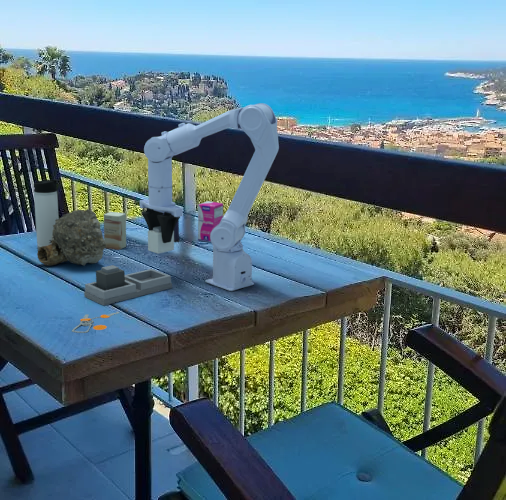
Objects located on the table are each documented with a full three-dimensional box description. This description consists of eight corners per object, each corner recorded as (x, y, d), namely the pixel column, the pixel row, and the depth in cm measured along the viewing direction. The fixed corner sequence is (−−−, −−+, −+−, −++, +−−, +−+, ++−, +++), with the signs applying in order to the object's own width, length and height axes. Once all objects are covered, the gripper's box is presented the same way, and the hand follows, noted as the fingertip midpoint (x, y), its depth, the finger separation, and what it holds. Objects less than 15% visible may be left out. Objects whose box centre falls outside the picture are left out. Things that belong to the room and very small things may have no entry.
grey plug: (174, 250, 169) (173, 227, 167) (158, 253, 165) (157, 230, 164) (164, 246, 171) (163, 224, 170) (148, 250, 168) (147, 227, 166)
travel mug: (57, 251, 190) (53, 181, 185) (34, 251, 190) (29, 180, 185) (64, 246, 196) (60, 177, 191) (41, 245, 196) (37, 177, 191)
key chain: (101, 336, 133) (101, 332, 133) (66, 333, 134) (65, 329, 134) (122, 313, 145) (122, 310, 145) (89, 311, 146) (89, 307, 146)
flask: (161, 235, 211) (161, 202, 208) (170, 234, 212) (170, 201, 209) (172, 242, 203) (172, 207, 200) (181, 241, 204) (181, 207, 202)
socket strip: (172, 287, 162) (172, 275, 161) (103, 305, 149) (103, 292, 148) (152, 280, 167) (151, 268, 166) (84, 296, 154) (83, 284, 153)
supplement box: (197, 240, 206) (197, 203, 203) (207, 236, 211) (207, 200, 208) (213, 243, 203) (213, 206, 200) (223, 239, 208) (223, 202, 205)
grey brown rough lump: (106, 199, 178) (49, 193, 170) (114, 247, 171) (55, 243, 163) (84, 234, 191) (30, 230, 183) (90, 279, 185) (34, 278, 177)
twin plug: (125, 291, 154) (124, 267, 153) (106, 296, 151) (105, 271, 149) (115, 287, 157) (114, 263, 156) (96, 291, 154) (95, 267, 152)
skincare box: (103, 248, 195) (102, 214, 192) (111, 244, 199) (110, 211, 196) (119, 250, 193) (118, 215, 191) (127, 246, 197) (126, 212, 195)
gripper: (192, 188, 162) (192, 243, 165) (155, 180, 172) (155, 232, 175) (169, 191, 157) (169, 248, 161) (132, 183, 167) (133, 237, 170)
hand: (161, 240), depth 168 cm, fingers closed on grey plug, 4 cm apart
